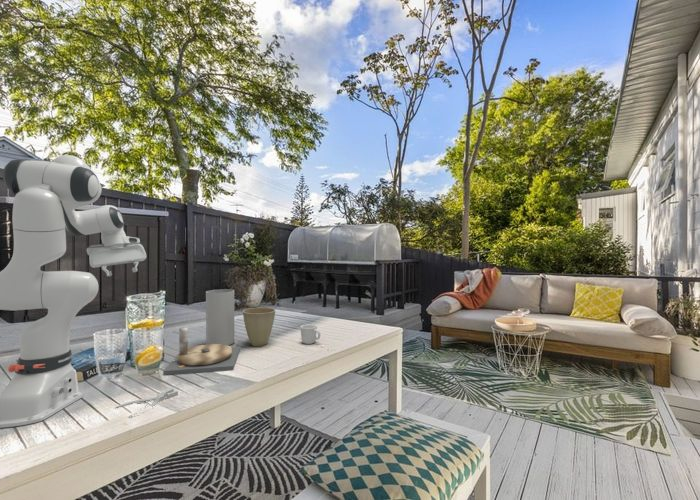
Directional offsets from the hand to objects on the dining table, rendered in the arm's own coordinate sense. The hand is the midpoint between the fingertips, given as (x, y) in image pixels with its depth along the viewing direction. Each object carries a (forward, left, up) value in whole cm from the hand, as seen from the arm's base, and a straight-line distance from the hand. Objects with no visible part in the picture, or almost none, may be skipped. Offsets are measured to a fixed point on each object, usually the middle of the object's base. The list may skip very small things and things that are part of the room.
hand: (122, 273), depth 143 cm
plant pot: (+3, -56, -35) cm, 66 cm away
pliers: (-51, -27, -35) cm, 67 cm away
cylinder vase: (+7, -38, -35) cm, 52 cm away
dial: (-17, -36, -33) cm, 51 cm away
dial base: (-17, -36, -35) cm, 53 cm away
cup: (-1, -80, -35) cm, 87 cm away
